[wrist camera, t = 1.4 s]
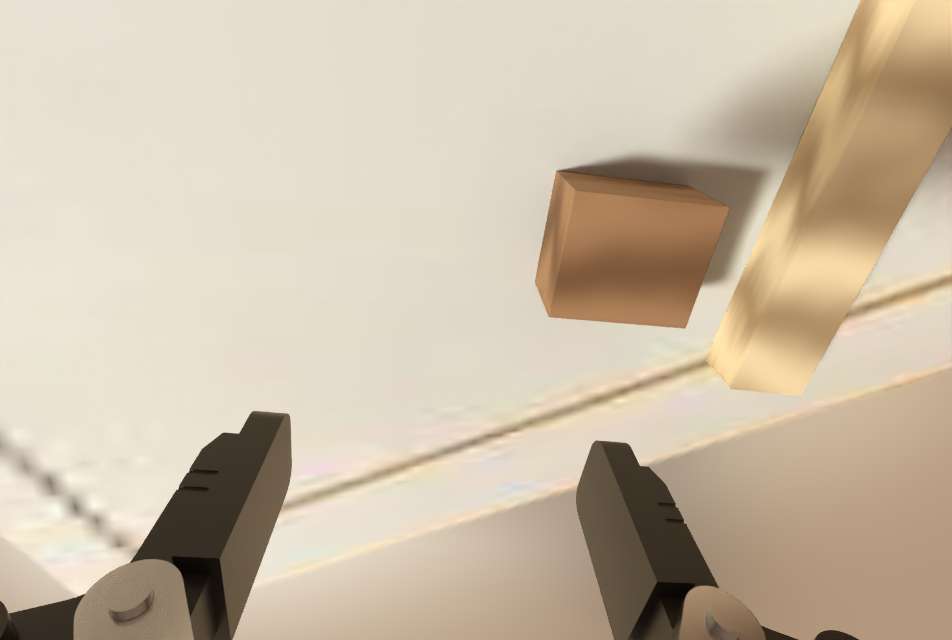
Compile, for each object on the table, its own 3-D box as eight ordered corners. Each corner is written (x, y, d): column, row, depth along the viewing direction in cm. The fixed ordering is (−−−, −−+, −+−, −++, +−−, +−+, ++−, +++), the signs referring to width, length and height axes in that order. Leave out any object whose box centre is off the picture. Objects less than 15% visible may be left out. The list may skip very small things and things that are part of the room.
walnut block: (555, 170, 28) (575, 190, 24) (686, 185, 29) (729, 207, 25) (534, 280, 31) (548, 317, 27) (652, 291, 32) (685, 328, 28)
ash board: (883, -53, 24) (949, -70, 21) (973, -34, 24) (1049, -47, 21) (705, 359, 35) (730, 389, 32) (769, 366, 35) (800, 395, 32)
